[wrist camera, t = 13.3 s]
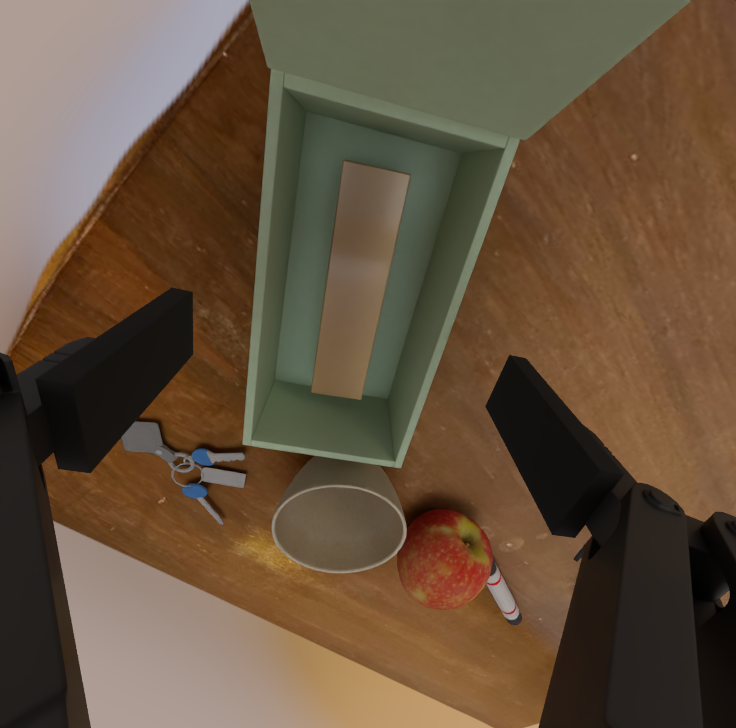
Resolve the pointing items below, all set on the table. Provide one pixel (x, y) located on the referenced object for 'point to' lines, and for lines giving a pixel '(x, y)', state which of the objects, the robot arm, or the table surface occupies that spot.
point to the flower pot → (339, 517)
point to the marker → (503, 596)
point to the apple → (444, 559)
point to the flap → (459, 51)
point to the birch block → (357, 275)
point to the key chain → (150, 440)
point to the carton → (407, 274)
